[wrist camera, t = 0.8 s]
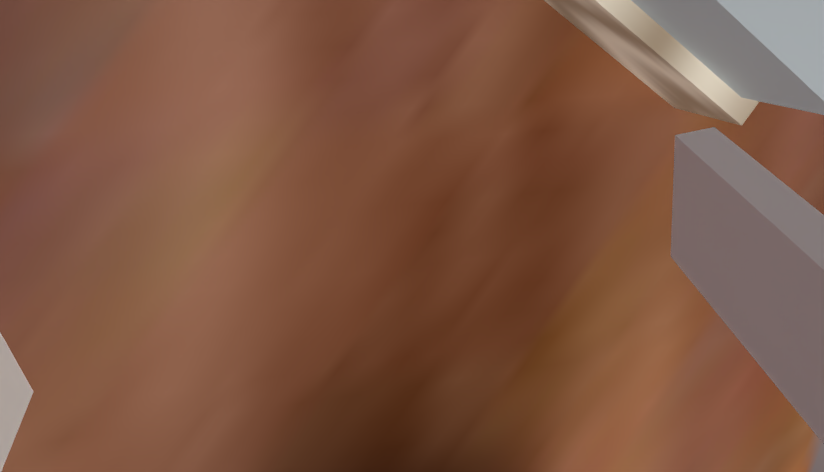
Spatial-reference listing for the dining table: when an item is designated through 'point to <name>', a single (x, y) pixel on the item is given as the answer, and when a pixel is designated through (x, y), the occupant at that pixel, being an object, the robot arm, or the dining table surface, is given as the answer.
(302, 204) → the dining table surface
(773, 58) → the grey flat square block
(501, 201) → the dining table surface
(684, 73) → the base block
